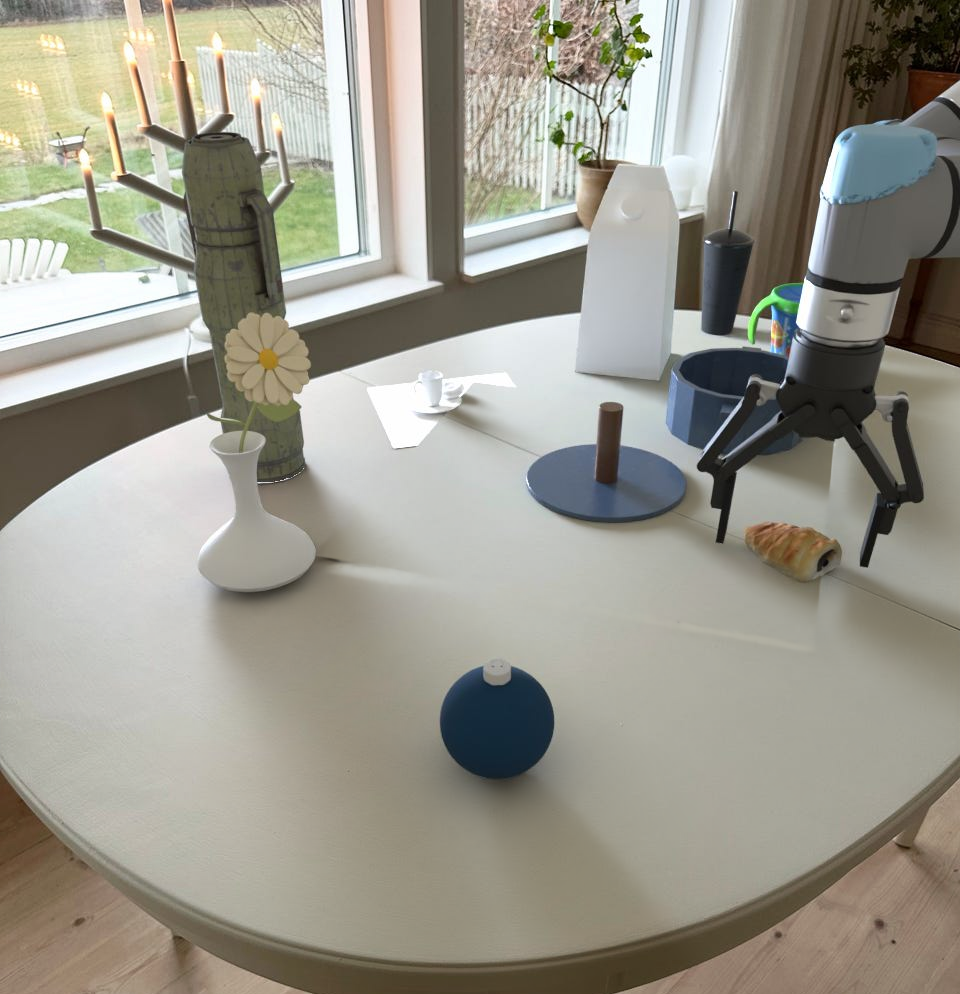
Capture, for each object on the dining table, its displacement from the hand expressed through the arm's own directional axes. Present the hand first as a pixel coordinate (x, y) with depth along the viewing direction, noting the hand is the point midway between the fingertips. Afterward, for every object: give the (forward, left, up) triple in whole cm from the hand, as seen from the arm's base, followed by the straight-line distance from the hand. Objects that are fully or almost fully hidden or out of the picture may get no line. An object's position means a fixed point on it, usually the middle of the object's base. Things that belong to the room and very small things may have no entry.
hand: (791, 548), depth 94 cm
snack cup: (+3, -55, -2) cm, 55 cm away
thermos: (+60, -3, -2) cm, 60 cm away
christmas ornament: (+19, +36, -2) cm, 41 cm away
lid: (+21, -10, -1) cm, 23 cm away
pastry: (0, 0, -2) cm, 2 cm away
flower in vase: (+49, +17, -2) cm, 52 cm away
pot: (+9, -30, -2) cm, 31 cm away
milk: (+27, -49, -2) cm, 56 cm away
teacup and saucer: (+45, -26, -2) cm, 52 cm away
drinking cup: (+16, -67, -2) cm, 69 cm away
